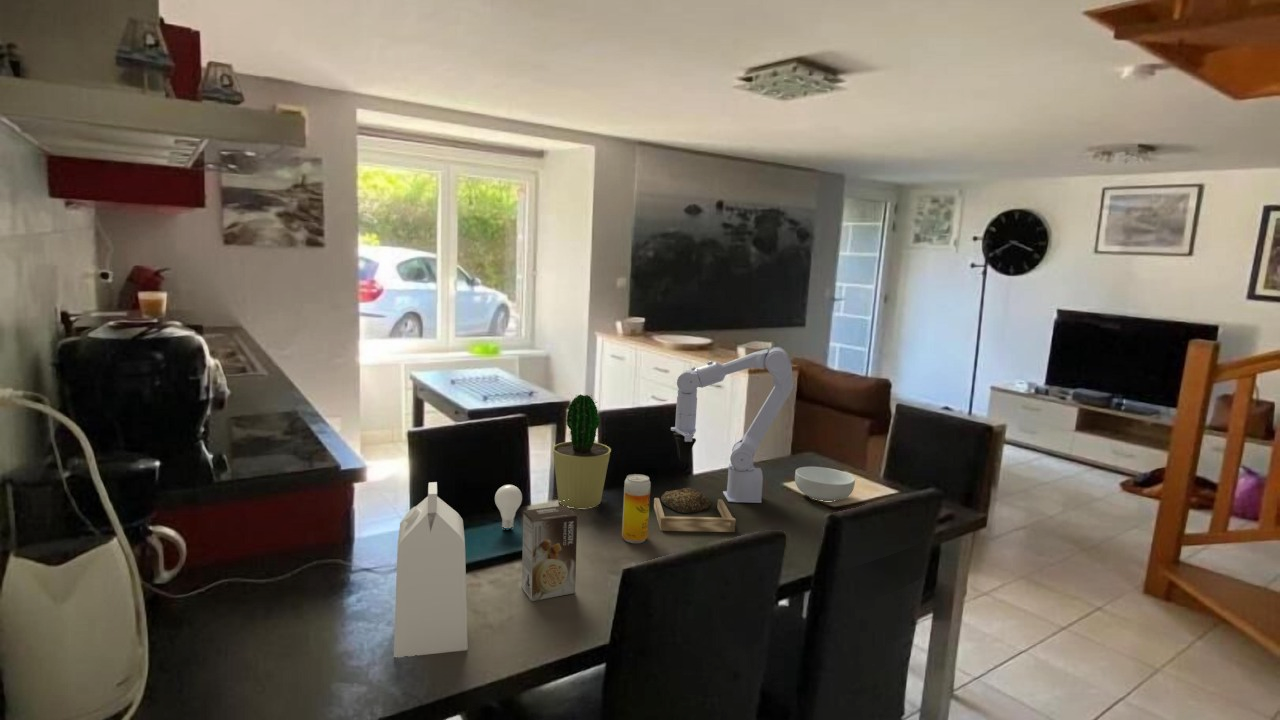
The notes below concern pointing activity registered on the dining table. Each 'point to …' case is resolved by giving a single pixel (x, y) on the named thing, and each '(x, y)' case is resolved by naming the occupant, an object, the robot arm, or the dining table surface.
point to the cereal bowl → (824, 483)
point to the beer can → (636, 508)
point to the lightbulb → (508, 503)
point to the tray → (696, 520)
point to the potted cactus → (581, 457)
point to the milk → (430, 580)
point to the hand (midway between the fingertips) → (683, 459)
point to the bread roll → (685, 500)
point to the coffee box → (549, 552)
